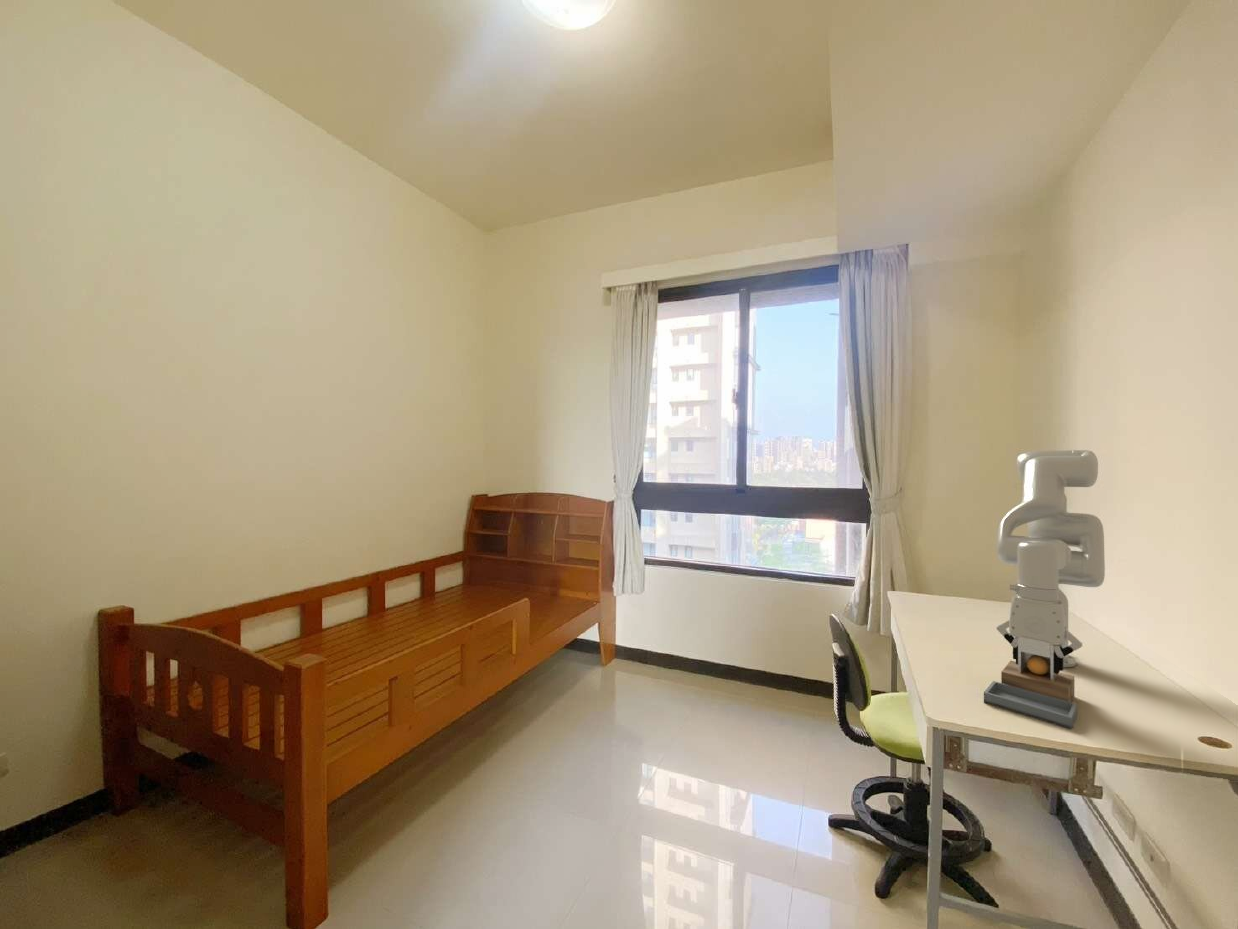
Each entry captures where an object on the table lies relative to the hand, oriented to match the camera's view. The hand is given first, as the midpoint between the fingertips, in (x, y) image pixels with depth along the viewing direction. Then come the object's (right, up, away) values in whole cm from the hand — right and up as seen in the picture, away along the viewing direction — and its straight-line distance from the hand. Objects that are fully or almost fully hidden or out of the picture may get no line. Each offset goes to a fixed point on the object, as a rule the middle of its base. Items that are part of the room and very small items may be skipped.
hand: (1037, 666), depth 116 cm
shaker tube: (0, -2, 0) cm, 2 cm away
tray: (-8, -7, -7) cm, 12 cm away
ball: (0, 0, 0) cm, 0 cm away
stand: (0, -7, 0) cm, 7 cm away
